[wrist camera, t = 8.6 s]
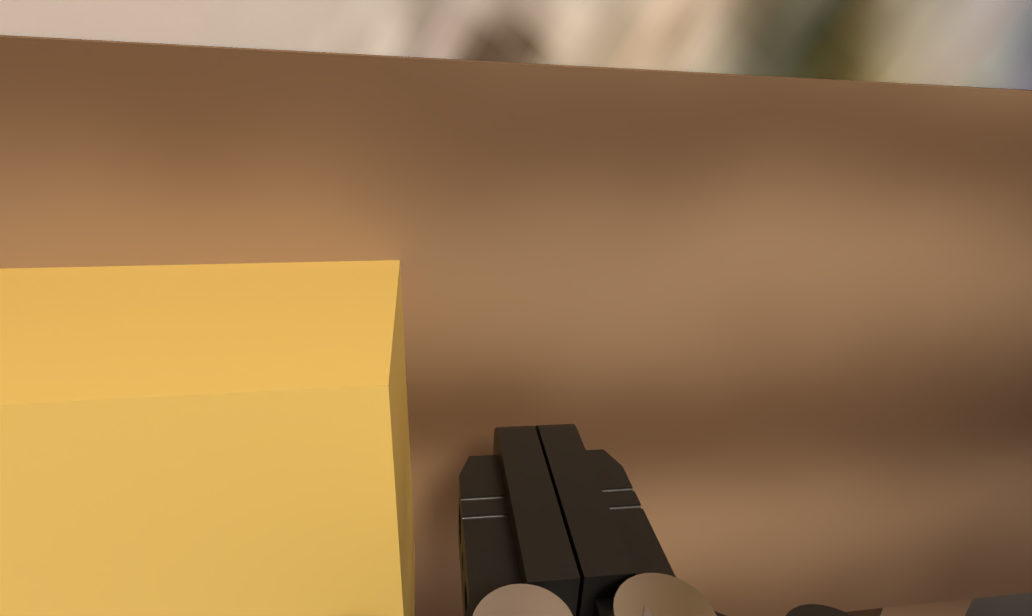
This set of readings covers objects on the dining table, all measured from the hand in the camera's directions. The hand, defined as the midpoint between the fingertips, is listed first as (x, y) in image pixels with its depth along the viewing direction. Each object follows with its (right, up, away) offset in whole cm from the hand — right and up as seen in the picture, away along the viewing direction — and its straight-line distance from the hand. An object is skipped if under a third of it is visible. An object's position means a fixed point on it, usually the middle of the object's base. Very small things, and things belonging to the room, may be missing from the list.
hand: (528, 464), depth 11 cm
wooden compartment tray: (+5, -4, +7) cm, 10 cm away
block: (-6, +1, 0) cm, 6 cm away
